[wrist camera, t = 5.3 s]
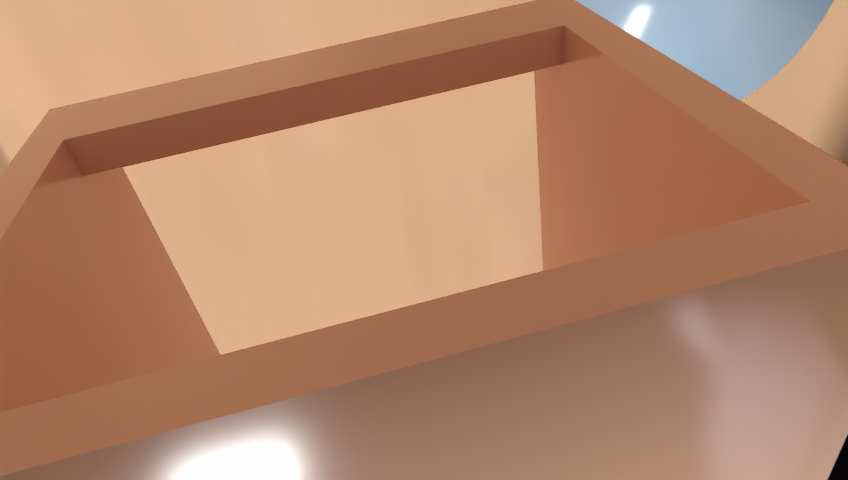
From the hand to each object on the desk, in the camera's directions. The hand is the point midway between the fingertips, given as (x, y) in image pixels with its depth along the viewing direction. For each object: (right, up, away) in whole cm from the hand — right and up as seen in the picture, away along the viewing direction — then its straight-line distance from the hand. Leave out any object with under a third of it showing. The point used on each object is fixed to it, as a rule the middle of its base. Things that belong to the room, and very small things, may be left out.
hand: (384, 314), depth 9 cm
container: (0, +1, +1) cm, 2 cm away
